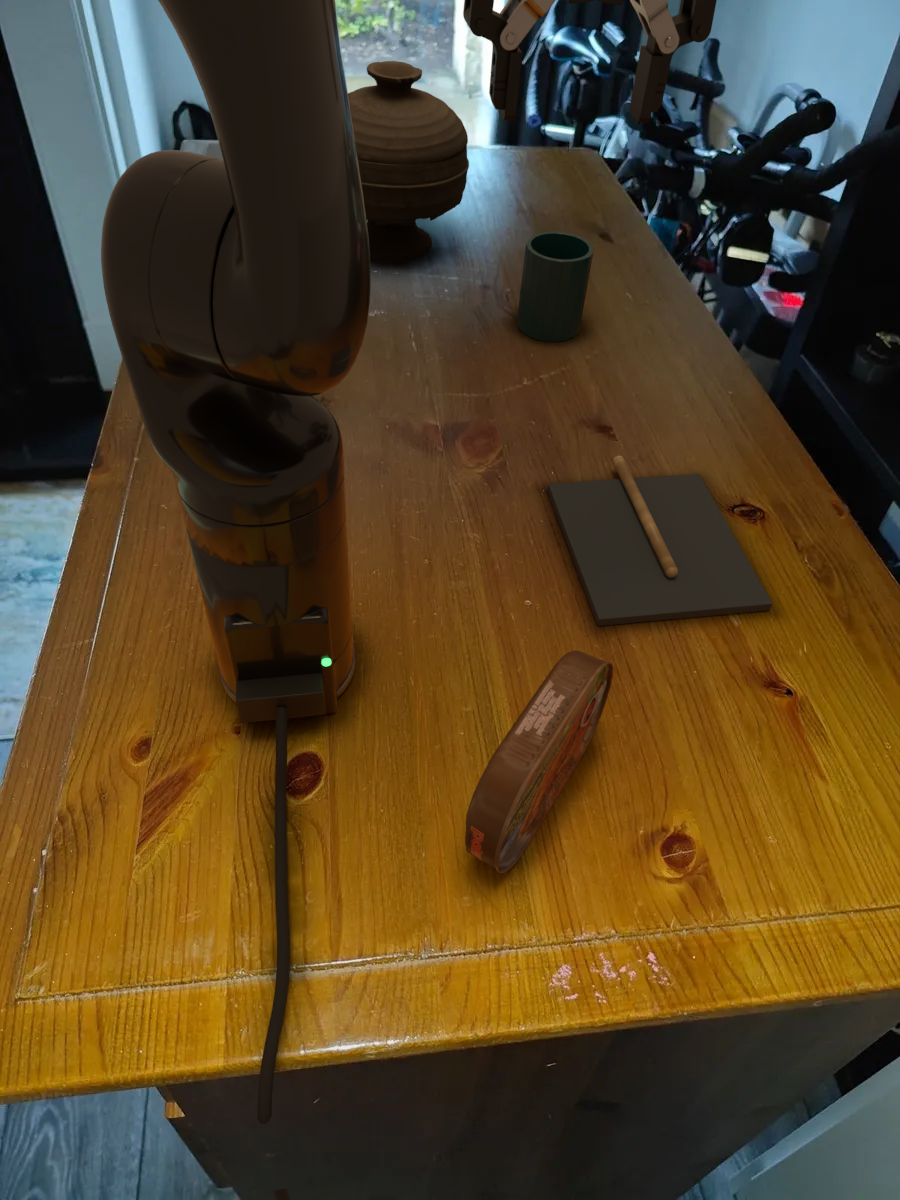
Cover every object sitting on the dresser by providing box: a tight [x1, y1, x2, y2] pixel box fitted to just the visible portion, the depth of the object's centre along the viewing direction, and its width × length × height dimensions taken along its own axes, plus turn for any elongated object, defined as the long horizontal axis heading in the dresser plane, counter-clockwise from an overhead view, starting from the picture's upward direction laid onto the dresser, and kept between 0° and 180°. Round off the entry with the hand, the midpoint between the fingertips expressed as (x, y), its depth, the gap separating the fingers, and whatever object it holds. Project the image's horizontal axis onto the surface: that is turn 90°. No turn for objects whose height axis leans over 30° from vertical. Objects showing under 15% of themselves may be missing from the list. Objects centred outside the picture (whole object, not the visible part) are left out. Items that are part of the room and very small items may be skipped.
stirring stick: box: [612, 455, 678, 578], centre depth 71 cm, size 8×1×13 cm
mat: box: [546, 473, 773, 627], centre depth 70 cm, size 16×14×1 cm
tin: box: [464, 649, 614, 874], centre depth 51 cm, size 15×3×8 cm, turn 148°
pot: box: [348, 60, 470, 264], centre depth 99 cm, size 18×18×20 cm
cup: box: [516, 230, 595, 343], centre depth 91 cm, size 7×7×9 cm
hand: (573, 117), depth 52 cm, fingers open, 8 cm apart
